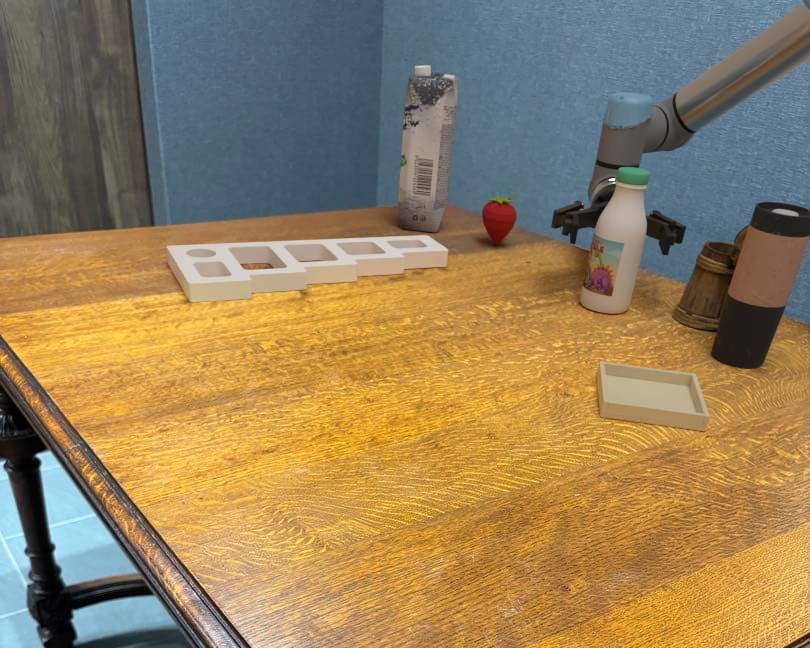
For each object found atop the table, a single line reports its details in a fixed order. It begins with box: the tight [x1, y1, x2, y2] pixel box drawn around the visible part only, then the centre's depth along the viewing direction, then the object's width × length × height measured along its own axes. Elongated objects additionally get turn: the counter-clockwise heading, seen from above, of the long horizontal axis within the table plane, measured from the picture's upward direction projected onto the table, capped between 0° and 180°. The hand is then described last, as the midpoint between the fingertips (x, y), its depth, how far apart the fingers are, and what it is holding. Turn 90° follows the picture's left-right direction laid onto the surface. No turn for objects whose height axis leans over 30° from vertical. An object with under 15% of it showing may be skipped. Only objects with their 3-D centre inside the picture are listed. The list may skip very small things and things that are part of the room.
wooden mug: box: [672, 223, 750, 332], centre depth 119 cm, size 9×14×18 cm, turn 12°
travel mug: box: [710, 201, 810, 369], centre depth 108 cm, size 8×8×20 cm
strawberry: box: [481, 187, 518, 246], centre depth 148 cm, size 6×8×10 cm
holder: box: [166, 234, 450, 303], centre depth 129 cm, size 45×18×3 cm, turn 113°
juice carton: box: [397, 65, 458, 233], centre depth 150 cm, size 9×10×27 cm
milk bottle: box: [579, 167, 651, 315], centre depth 122 cm, size 8×8×20 cm
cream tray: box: [596, 360, 711, 432], centre depth 99 cm, size 12×12×2 cm
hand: (620, 240), depth 119 cm, fingers open, 13 cm apart
